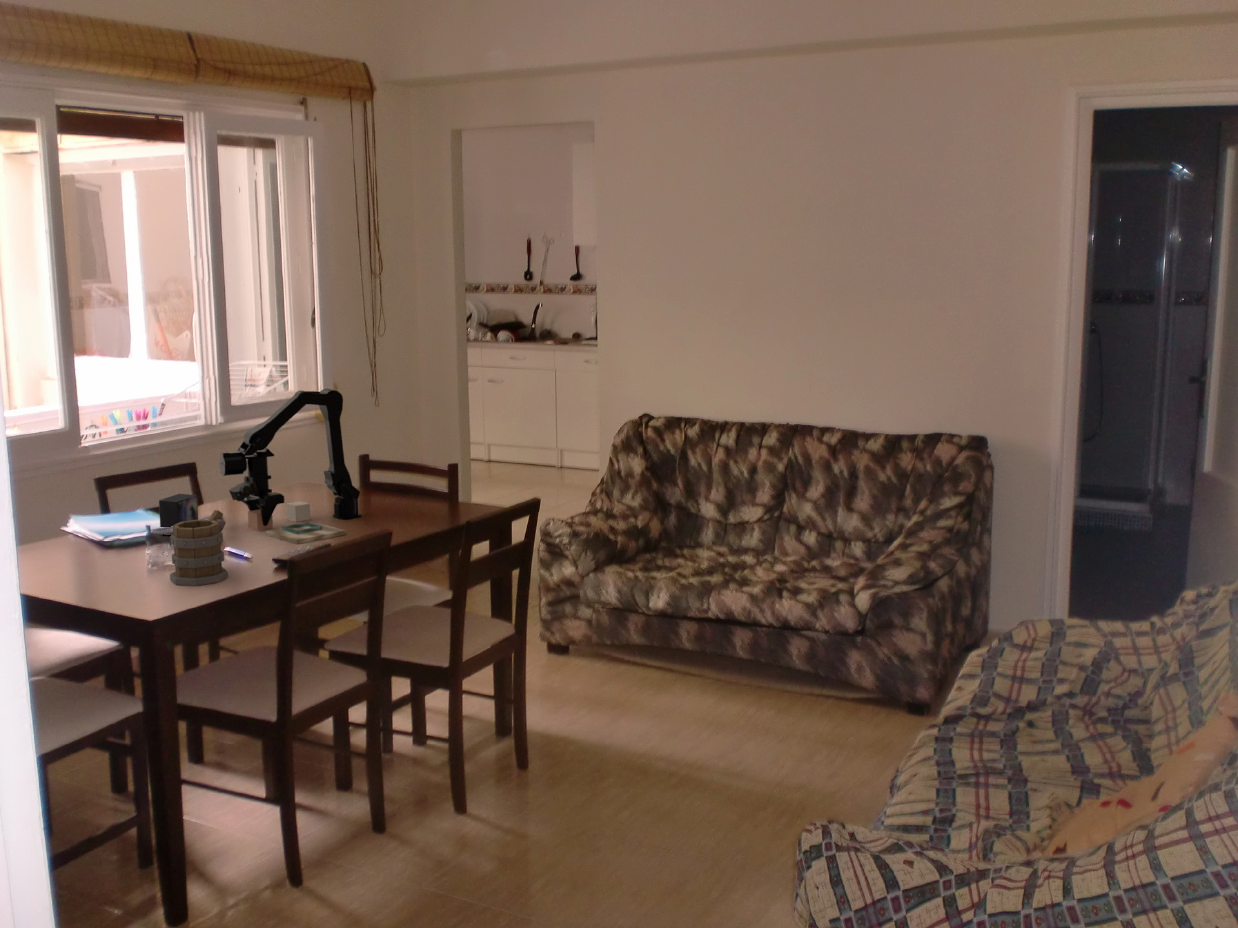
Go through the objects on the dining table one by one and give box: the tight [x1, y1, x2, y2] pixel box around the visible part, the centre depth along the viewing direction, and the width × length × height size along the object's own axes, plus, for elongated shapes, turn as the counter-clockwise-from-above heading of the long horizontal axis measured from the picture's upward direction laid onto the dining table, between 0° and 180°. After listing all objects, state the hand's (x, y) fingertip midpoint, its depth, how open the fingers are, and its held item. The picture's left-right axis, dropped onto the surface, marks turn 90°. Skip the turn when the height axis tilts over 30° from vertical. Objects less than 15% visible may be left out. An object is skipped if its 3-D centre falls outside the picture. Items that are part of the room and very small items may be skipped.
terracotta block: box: [247, 509, 274, 531], centre depth 341 cm, size 5×5×5 cm
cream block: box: [285, 501, 311, 523], centre depth 353 cm, size 5×5×5 cm
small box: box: [158, 493, 199, 528], centre depth 335 cm, size 11×6×10 cm, turn 168°
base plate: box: [265, 521, 347, 545], centre depth 332 cm, size 16×16×2 cm
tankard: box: [169, 509, 229, 587], centre depth 288 cm, size 20×13×15 cm, turn 171°
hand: (260, 524), depth 341 cm, fingers closed on terracotta block, 5 cm apart
